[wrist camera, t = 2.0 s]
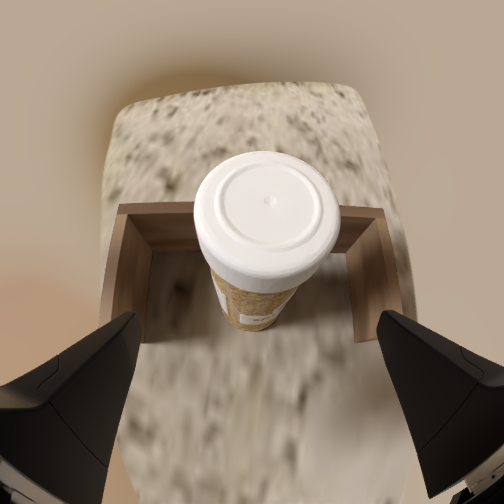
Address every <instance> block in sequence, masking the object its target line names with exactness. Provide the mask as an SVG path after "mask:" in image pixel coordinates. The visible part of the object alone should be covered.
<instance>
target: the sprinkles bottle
mask: <svg viewBox="0 0 504 504" xmlns="http://www.w3.org/2000/svg"><path fill="white" fill-rule="evenodd" d="M194 222H195V228H196V232H197V236H198V240H199V244H200V247H201V250H202V253H203V255H204V257H205V259H206V261H207V262H208V264H209V265H210V267H211V275H212V279H213V282H214V286H215V289H216V292H217V295H218V298H219V301H220V304H221V309H222V312H223V314H224V316H225V318H226V319H227V321H228V322H229V323H230V324H231V325H233V326H234V327H236V328H238V329H240V330H243V331H259V330H262V329H264V328H266V327H268V326H269V325H270V324H272V323H273V322H274V321H275V319H276V318H277V317H278V315H279V313H280V312H281V310H282V309H283V308H284V306H285V305H286V303H287V302H288V301H289V299H290V298H291V297H292V295H293V294H294V293H295V291H296V290H297V288H298V286H299V285H300V284H302V283H303V282H305V281H306V280H307V279H309V278H310V277H311V276H312V275H313V274H314V273H315V272H316V271H317V269H318V268H319V267H320V266H321V264H322V263H323V262H324V260H325V259H326V258H327V256H328V255H329V253H330V252H331V250H332V248H333V247H334V245H335V243H336V240H337V237H338V234H339V230H340V223H341V218H340V208H339V204H338V200H337V198H336V195H335V193H334V191H333V189H332V187H331V186H330V185H329V183H328V182H327V180H326V179H325V178H324V177H323V176H322V175H321V174H320V173H319V172H318V171H317V170H316V169H314V168H313V167H312V166H310V165H309V164H307V163H306V162H304V161H302V160H300V159H298V158H296V157H293V156H290V155H287V154H283V153H278V152H271V151H255V152H248V153H244V154H240V155H237V156H234V157H232V158H230V159H227V160H226V161H224V162H222V163H221V164H219V165H218V166H217V167H215V168H214V169H213V170H212V171H211V172H210V173H209V174H208V175H207V177H206V178H205V179H204V181H203V182H202V184H201V186H200V188H199V190H198V192H197V195H196V198H195V203H194Z"/></svg>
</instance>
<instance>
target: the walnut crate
mask: <svg viewBox="0 0 504 504" xmlns="http://www.w3.org/2000/svg"><path fill="white" fill-rule="evenodd" d="M194 203H195V202H155V203H129V204H119V207H118V211H117V215H116V220H115V224H114V228H113V233H112V238H111V242H110V247H109V253H108V258H107V264H106V270H105V276H104V283H103V290H102V298H101V306H100V315H99V326H98V329H99V328H100V327H102V326H103V325H105V324H107V323H108V322H110V321H111V320H113V319H115V318H116V317H118V316H119V315H121V314H122V313H124V312H126V311H131V312H136V313H137V314H138V317H139V321H140V325H141V329H142V337H141V342H140V343H144V339H145V322H146V308H147V297H148V286H149V277H150V268H151V260H152V252H153V251H193V252H202V250H201V247H200V244H199V240H198V236H197V232H196V228H195V222H194ZM339 208H340V218H341V223H340V230H339V234H338V237H337V240H336V243H335V245H334V247H333V248H332V250H331V252H330V253H346V260H347V267H348V275H349V284H350V293H351V303H352V314H353V326H354V341H355V343H357V342H365V341H369V340H374V339H378V337H377V334H376V327H377V324H378V321H379V318H380V315H381V312H382V311H383V310H394V311H396V312H398V313H400V314H402V315H403V310H402V302H401V295H400V288H399V282H398V276H397V270H396V264H395V259H394V254H393V249H392V244H391V239H390V235H389V231H388V226H387V222H386V218H385V214H384V210H383V209H382V208H370V207H356V206H342V205H339Z"/></svg>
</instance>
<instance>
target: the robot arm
mask: <svg viewBox="0 0 504 504" xmlns="http://www.w3.org/2000/svg"><path fill="white" fill-rule="evenodd" d="M376 334H377V337H378V340H379V344H380V347H381V351H382V354H383V358H384V361H385V364H386V367H387V370H388V372H389V375H390V377H391V380H392V382H393V385H394V388H395V390H396V393H397V396H398V398H399V401H400V404H401V407H402V410H403V412H404V415H405V418H406V421H407V424H408V427H409V430H410V433H411V436H412V439H413V443H414V446H415V449H416V452H417V456H418V460H419V463H420V467H421V470H422V474H423V478H424V482H425V485H426V489H427V494H428V497H429V499H431V498H433V497H435V496H437V495H439V494H440V493H442V492H444V491H446V490H448V489H449V488H451V487H453V486H455V485H456V484H458V483H460V482H461V481H462V480H465V482H466V485H467V487H466V488H465V489H463V490H462V491H460V492H459V493H457V494H455V495H454V496H453V497H452V500H451V502H450V504H504V367H503V366H501V365H499V364H496V363H494V362H492V361H490V360H488V359H485V358H483V357H481V356H479V355H477V354H475V353H473V352H471V351H469V350H467V349H466V348H464V347H462V346H459V345H458V344H456V343H454V342H452V341H451V340H449V339H447V338H445V337H443V336H441V335H439V334H438V333H436V332H434V331H432V330H430V329H428V328H426V327H424V326H423V325H421V324H419V323H417V322H415V321H413V320H411V319H409V318H407V317H405V316H404V315H402V314H400V313H398V312H396V311H394V310H383V311H382V312H381V315H380V318H379V321H378V324H377V327H376ZM141 337H142V329H141V325H140V321H139V317H138V314H137V313H136V312H131V311H126V312H124V313H122V314H121V315H119V316H118V317H116V318H115V319H113V320H111V321H110V322H108V323H107V324H105V325H103V326H102V327H100V328H99V329H97V330H96V331H94V332H92V333H91V334H89V335H88V336H86V337H84V338H83V339H82V340H80V341H78V342H77V343H75V344H74V345H72V346H70V347H69V348H67V349H66V350H64V351H63V352H61V353H60V354H59V355H56V356H55V357H53V358H52V359H50V360H49V361H47V362H45V363H44V364H42V365H40V366H39V367H37V368H35V369H33V370H31V371H30V372H28V373H26V374H24V375H23V376H20V377H18V378H17V379H15V380H13V381H11V382H9V383H7V384H5V385H2V386H0V504H101V503H102V498H103V492H104V487H105V482H106V477H107V472H108V467H109V462H110V458H111V454H112V450H113V446H114V441H115V437H116V434H117V430H118V426H119V422H120V419H121V415H122V411H123V408H124V404H125V401H126V397H127V394H128V391H129V387H130V384H131V381H132V378H133V375H134V371H135V367H136V362H137V357H138V352H139V347H140V342H141Z"/></svg>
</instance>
